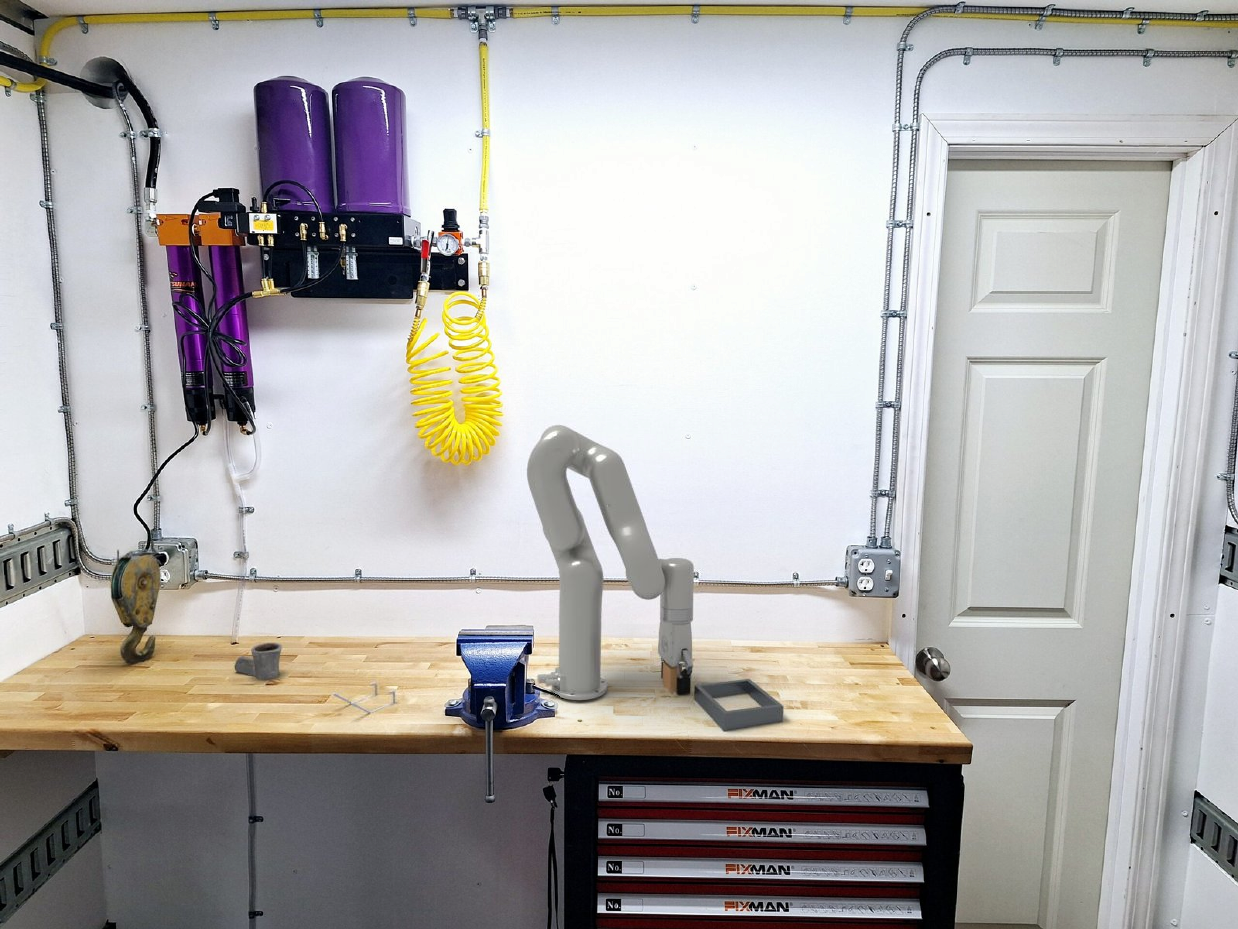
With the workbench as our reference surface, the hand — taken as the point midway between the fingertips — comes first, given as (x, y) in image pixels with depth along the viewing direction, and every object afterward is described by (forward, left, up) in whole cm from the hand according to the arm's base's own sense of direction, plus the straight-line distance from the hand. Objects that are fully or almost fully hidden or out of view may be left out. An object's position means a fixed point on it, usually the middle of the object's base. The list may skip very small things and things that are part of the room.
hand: (675, 685), depth 167 cm
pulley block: (-122, +52, -2) cm, 132 cm away
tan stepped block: (+2, 0, -2) cm, 3 cm away
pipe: (-92, +35, -2) cm, 99 cm away
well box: (+8, -15, -2) cm, 17 cm away
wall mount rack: (-68, +10, -3) cm, 69 cm away
